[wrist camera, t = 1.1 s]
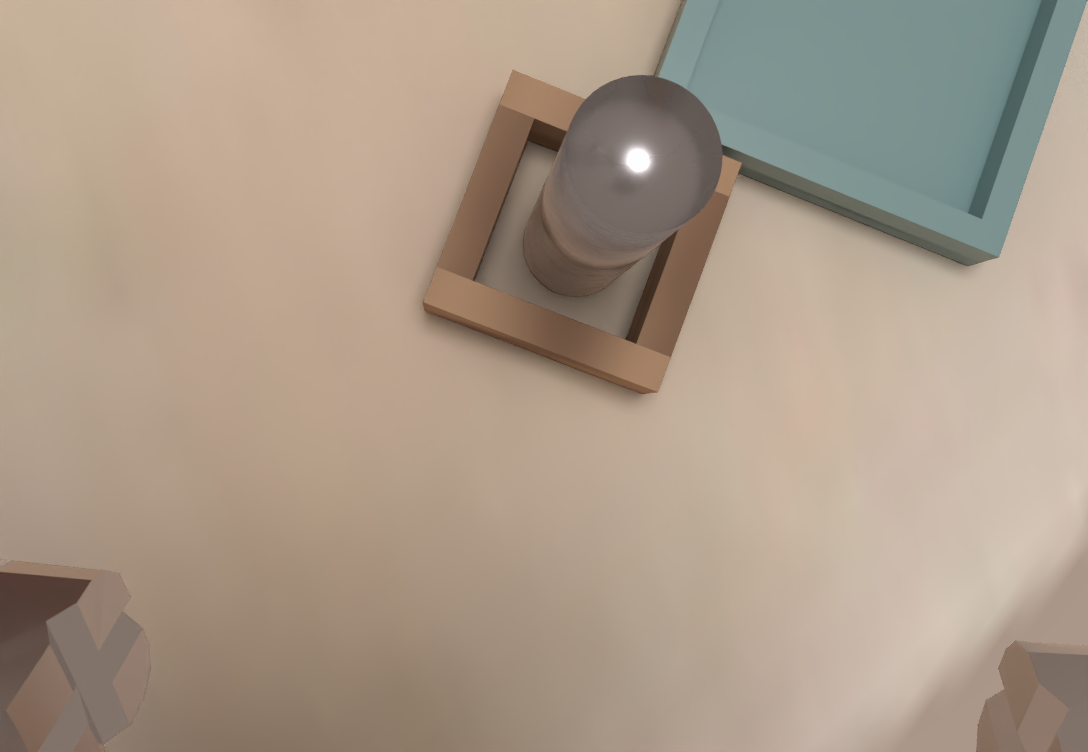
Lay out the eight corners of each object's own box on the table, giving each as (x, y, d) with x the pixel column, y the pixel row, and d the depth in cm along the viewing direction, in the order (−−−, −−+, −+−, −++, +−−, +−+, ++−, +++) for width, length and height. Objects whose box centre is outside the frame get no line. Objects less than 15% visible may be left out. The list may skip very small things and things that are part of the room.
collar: (424, 310, 34) (423, 302, 31) (508, 94, 34) (512, 69, 32) (642, 393, 34) (658, 392, 32) (720, 180, 35) (741, 162, 32)
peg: (508, 273, 34) (542, 198, 22) (544, 177, 34) (597, 50, 22) (605, 311, 34) (690, 257, 22) (641, 215, 35) (744, 111, 23)
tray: (633, 130, 35) (644, 112, 33) (758, -203, 36) (776, -240, 34) (968, 265, 36) (999, 257, 34) (1080, -61, 37) (1117, -89, 35)
